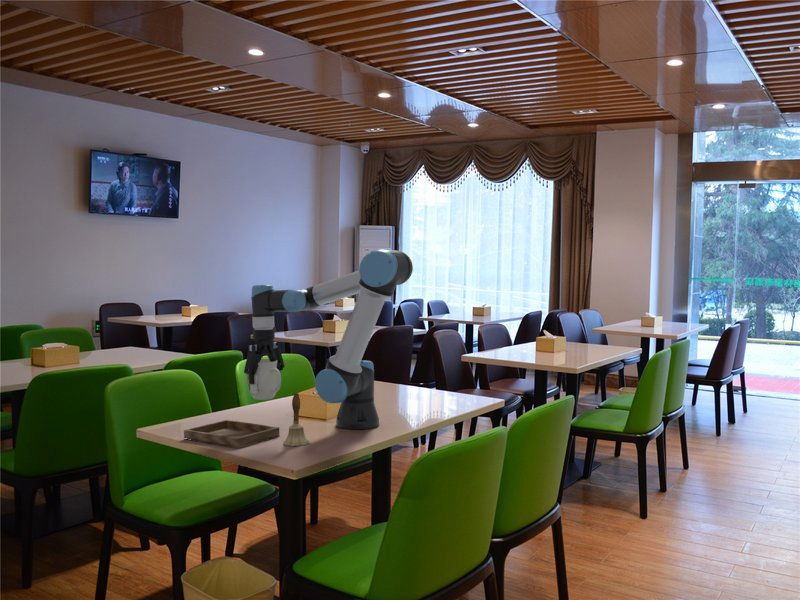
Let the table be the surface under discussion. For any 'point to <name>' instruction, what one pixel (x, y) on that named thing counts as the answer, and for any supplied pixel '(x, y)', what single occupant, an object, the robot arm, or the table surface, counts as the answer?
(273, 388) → the pitcher
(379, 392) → the table surface
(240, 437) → the tray
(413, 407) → the table surface
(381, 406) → the table surface
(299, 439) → the hand bell
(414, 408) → the table surface
